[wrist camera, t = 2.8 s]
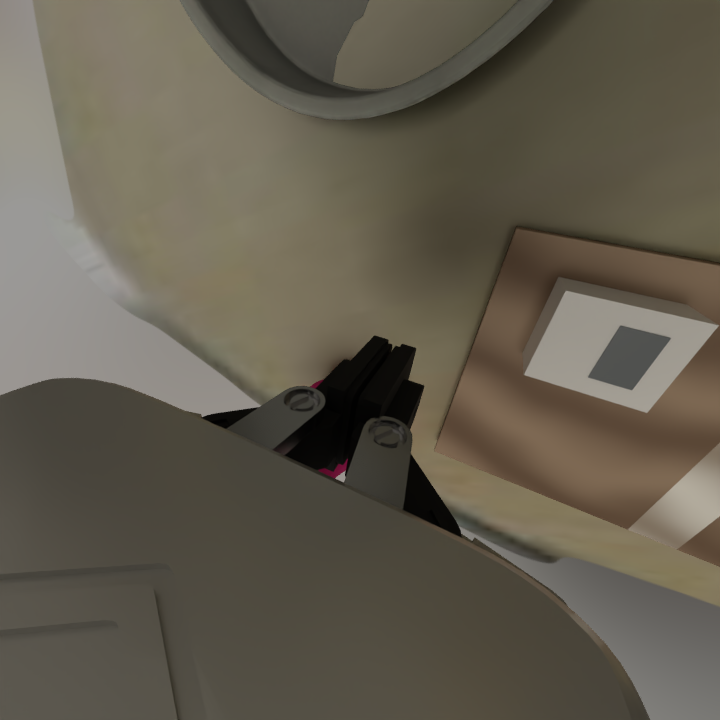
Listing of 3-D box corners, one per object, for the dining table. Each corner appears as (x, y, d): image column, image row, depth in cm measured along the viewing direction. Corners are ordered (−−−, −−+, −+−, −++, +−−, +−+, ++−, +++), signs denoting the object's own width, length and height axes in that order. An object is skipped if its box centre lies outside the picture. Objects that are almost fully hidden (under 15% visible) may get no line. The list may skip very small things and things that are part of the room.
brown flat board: (516, 226, 18) (516, 228, 17) (1103, 332, 12) (1168, 348, 11) (437, 439, 28) (434, 450, 27) (744, 560, 22) (758, 582, 20)
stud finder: (558, 276, 17) (566, 291, 15) (687, 304, 16) (720, 326, 13) (522, 352, 20) (523, 375, 17) (629, 383, 18) (647, 413, 16)
